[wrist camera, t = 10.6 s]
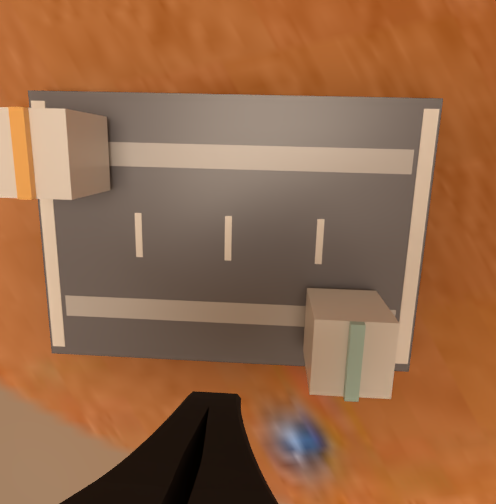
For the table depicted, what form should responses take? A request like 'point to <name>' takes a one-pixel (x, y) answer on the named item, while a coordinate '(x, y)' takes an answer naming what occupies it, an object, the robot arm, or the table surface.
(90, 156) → the fader
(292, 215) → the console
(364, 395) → the fader
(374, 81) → the table surface
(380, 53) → the table surface
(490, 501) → the table surface
